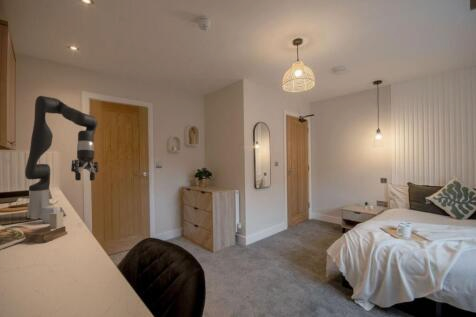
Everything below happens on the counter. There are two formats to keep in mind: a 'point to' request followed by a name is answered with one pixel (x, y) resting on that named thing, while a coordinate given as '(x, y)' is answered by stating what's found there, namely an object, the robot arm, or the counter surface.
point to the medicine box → (48, 213)
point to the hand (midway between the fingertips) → (85, 180)
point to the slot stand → (45, 234)
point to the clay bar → (56, 220)
